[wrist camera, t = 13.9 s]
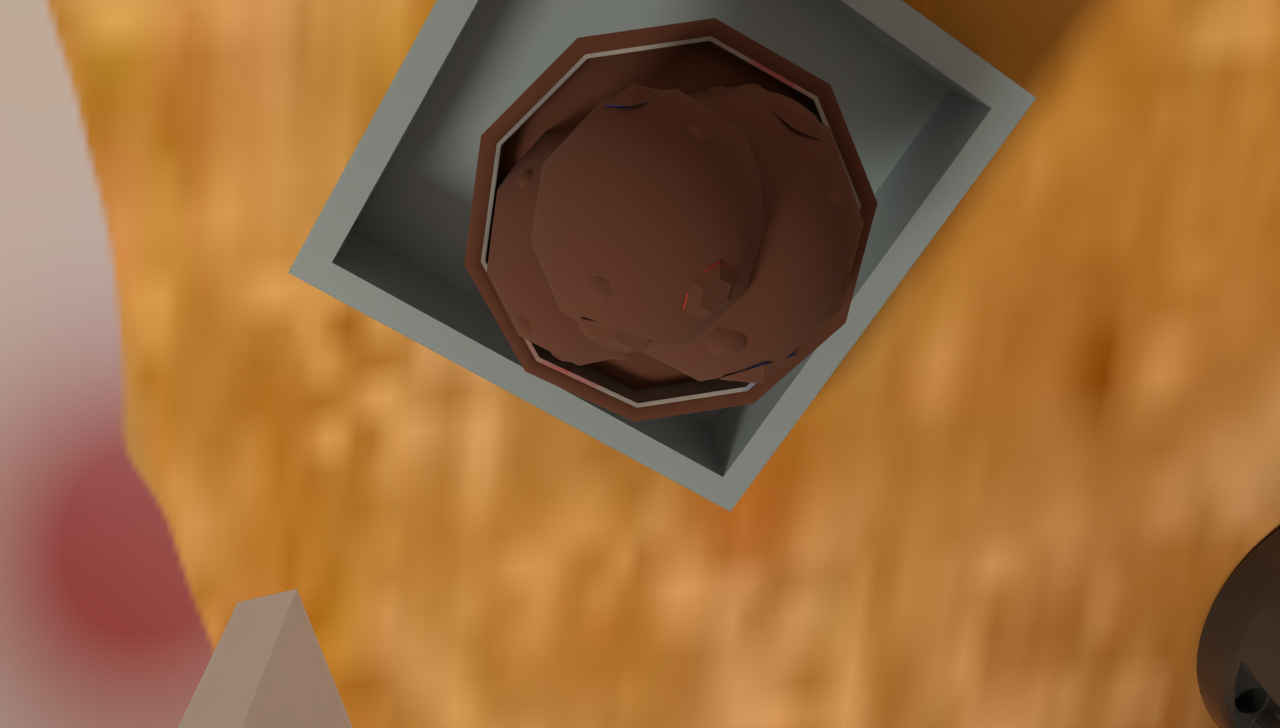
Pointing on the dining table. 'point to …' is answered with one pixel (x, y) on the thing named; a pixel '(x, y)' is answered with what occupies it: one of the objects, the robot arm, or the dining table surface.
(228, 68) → the dining table surface
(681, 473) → the charcoal tray
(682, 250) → the ice cream bowl
